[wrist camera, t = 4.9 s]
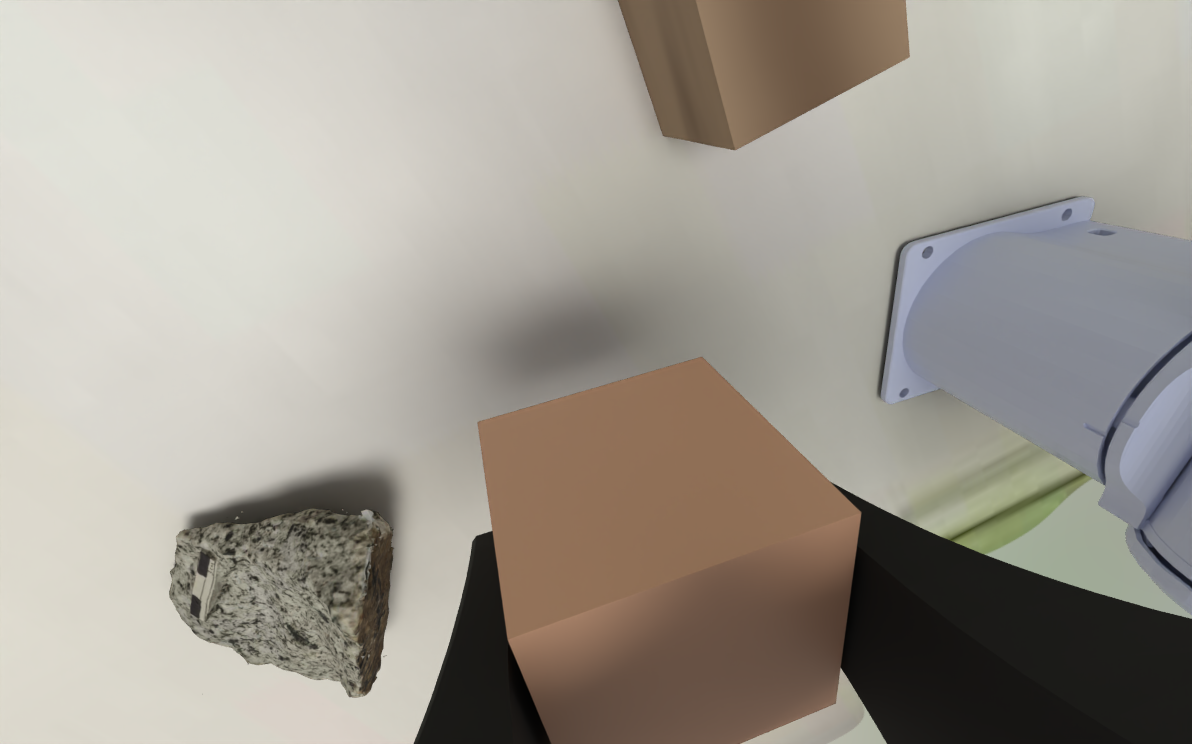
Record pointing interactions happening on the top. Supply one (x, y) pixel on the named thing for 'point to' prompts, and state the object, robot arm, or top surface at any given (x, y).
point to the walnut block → (757, 59)
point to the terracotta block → (667, 562)
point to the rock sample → (291, 592)
